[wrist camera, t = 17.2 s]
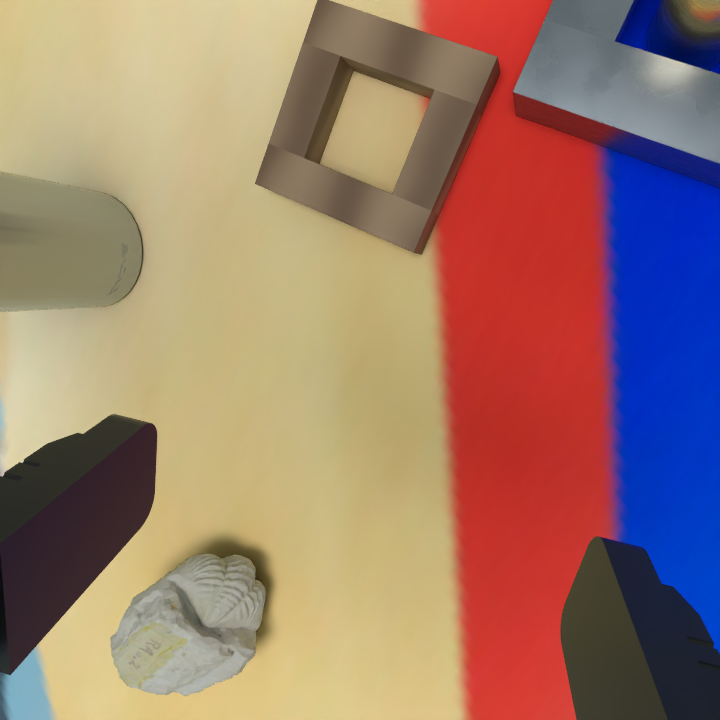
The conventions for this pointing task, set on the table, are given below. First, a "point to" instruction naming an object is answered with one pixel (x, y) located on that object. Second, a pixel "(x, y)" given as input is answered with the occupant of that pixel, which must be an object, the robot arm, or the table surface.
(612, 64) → the charcoal block
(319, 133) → the walnut stand
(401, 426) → the table surface
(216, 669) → the fossil replica
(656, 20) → the brass peg
